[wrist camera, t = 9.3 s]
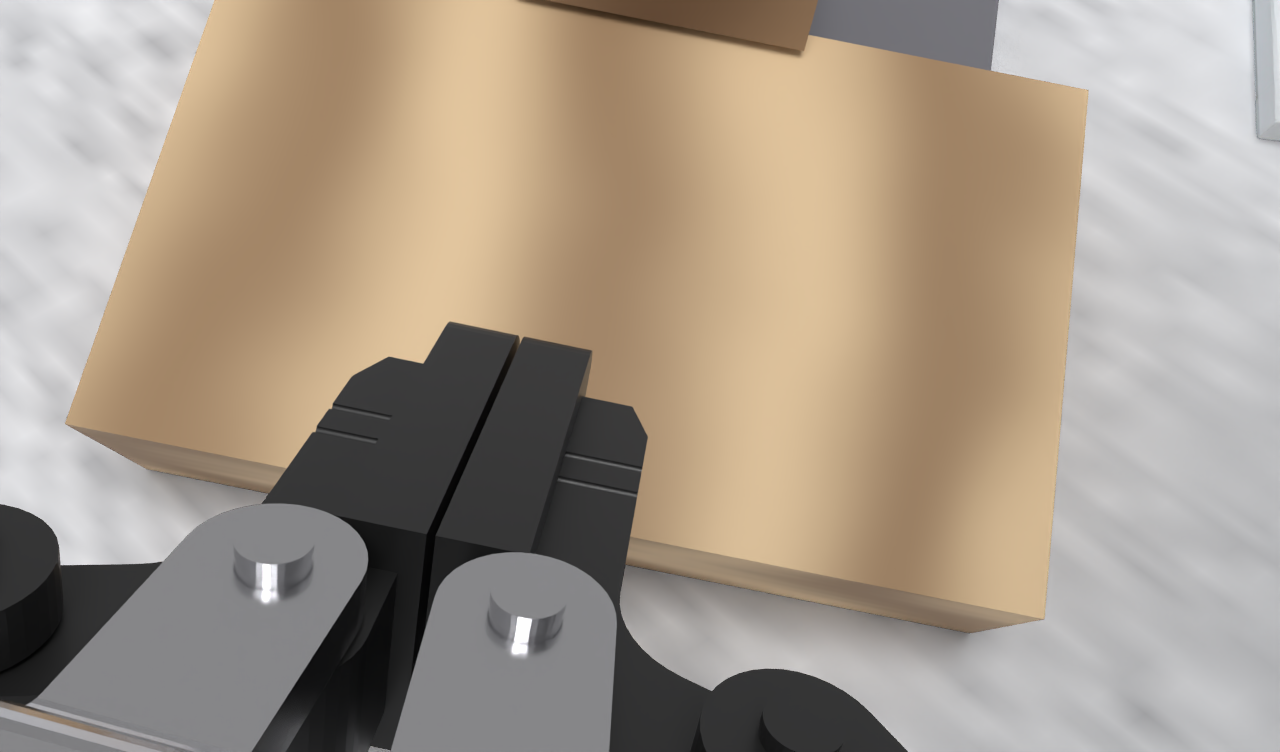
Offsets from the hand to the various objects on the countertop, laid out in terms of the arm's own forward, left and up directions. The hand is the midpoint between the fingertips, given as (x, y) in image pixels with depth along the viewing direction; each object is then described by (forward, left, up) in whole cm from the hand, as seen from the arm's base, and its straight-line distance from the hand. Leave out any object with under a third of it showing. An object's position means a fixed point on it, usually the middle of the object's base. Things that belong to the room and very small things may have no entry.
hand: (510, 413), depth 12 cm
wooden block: (0, -6, -13) cm, 14 cm away
